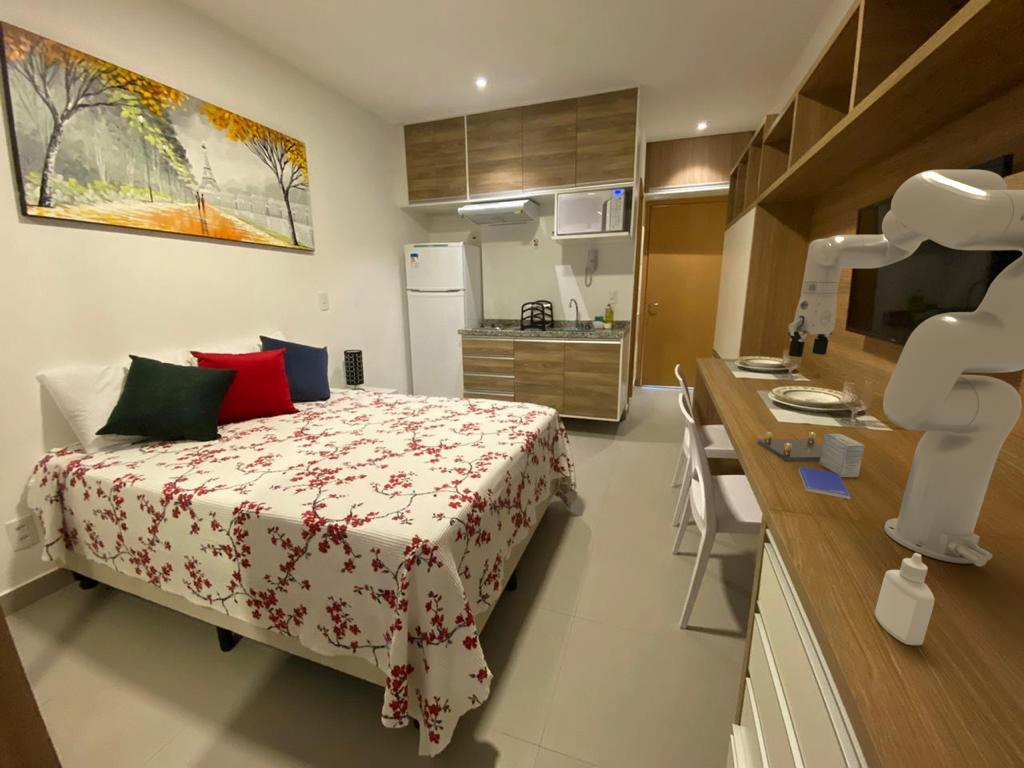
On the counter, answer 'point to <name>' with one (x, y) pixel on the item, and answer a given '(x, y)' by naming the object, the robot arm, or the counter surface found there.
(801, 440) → the plate
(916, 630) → the eye dropper bottle
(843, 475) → the medicine box
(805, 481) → the hard drive
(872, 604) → the counter surface
